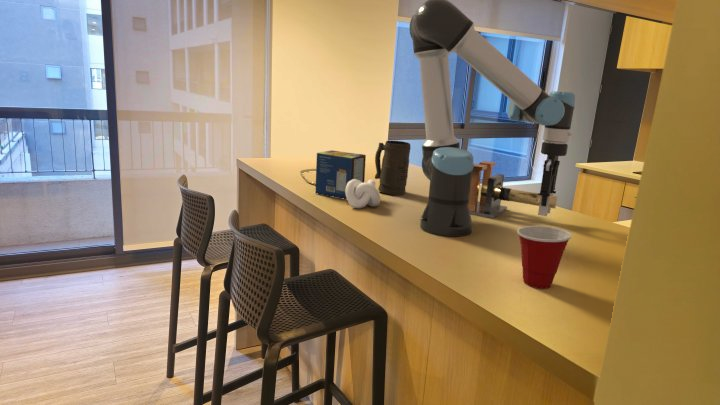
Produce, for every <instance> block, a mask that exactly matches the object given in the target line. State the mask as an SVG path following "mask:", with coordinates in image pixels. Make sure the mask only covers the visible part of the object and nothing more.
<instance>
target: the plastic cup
mask: <svg viewBox="0 0 720 405" xmlns="http://www.w3.org/2000/svg"><path fill="white" fill-rule="evenodd" d="M516 233H517V234H518V237H519V241H520V248H521V249H520V250H521V255H520V256H521V266H522V282H523V283H524V284H525V285H527V286H528V287H529V286H530V287H532V288H536V289H541V290H543V289H549V288H551V286H552V285H553V282H554V279H555V276H556V274H557V272H558V269H559V266H560V263H561V260H562V257H563V254H564V252H565V250H566V247H567V245H568V242H569V240H570V239H572V238H571V237H572V233H571V232H569V231H568V230H565V229H562V228H559V227H553V226H546V225H545V226H544V225H528V226H523V227H520V228H517V230H516Z"/></svg>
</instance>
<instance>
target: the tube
mask: <svg viewBox="0 0 720 405" xmlns="http://www.w3.org/2000/svg"><path fill="white" fill-rule="evenodd" d="M486 193H487V185H483V186H482V185H481V188H480V196H483V197H486ZM539 193H540V192H532V191H531V192H530V191H525V190H518V189H513V188H509V187H504V186H503V187H502V188H501V187H495V194H494V198H495V199H500V200H501V201H505V202H514V203H520V204H526V205H531V206H538V207H539V205H540V198H541V195H538V194H539ZM557 203H558V196H557V195H553V196H552V195H550V201H549V208H551V209H553V210H554V209H556V207H557Z"/></svg>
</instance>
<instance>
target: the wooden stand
mask: <svg viewBox="0 0 720 405" xmlns="http://www.w3.org/2000/svg"><path fill="white" fill-rule="evenodd" d="M495 166H496V161H488V160H482V161H481V162H480V161H479V163H474V167H473V171H472V179H471V188H470V196H469V211H470V215H474V216H478V217H484V218H489V219H493V218H494V219H495V218H497V217H499V214H500V215H501V214H503V213H504V212H505V211H507V210H508V206H505V205H501V202H502V200H500V199H495V198H494V194H495V187H501V188H502V187H503V188H504V180H505V174H502V173H501V174H500V173H497V174H496V175H493V167H495ZM482 171H483V172H482ZM481 175H482V179H481ZM492 175H493V176H492ZM481 180H482V181H481ZM480 185H481V187H482V186H483V185H487V193H486V197H483V196H481V195H480V198H479V193H480ZM506 209H507V210H506ZM503 211H504V212H503Z"/></svg>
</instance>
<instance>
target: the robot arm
mask: <svg viewBox="0 0 720 405" xmlns="http://www.w3.org/2000/svg"><path fill="white" fill-rule="evenodd" d="M409 35H410V37H411V40H412V48H413V55H414V56H415V57H416V58H417V59H418V61H419V70H420V80H421V81H420V82H421V94H422V103H423V104H422V105H423V115H424V128H425V129H424V130H425V140H424V141H423V142H422V144H421V150H422V158H421V159H422V160H421V169H422V172H423V174H424V176H425V177H426V179H428V180H429V189H428V190H429V192H428V199H427V200H428V201H427V204H426V206H425V208H424V211H423V213H422V215H421V218H420V224H419V225H420V226H419V227H420V228H421V230H423V231H426V232H427V233H430V234H434V235H439V236H446V237H464V236H468V235H470V234H471V233H472V231H473V221H472V216H471V214H470V211H469V196H470V188H471V179H472V171H473V167H474V164H475V163H474V156H473V153H472V152H470V151H469V150H467V149H462V148H460V147H461V146H460V140H459V139H458V138H457V137H456V136H455V134H454V133H455V132H454V120H453V119H454V118H453V105H452V89H451V88H452V87H451V78H450V77H451V76H450V63H449V60H450V59H449V55H450V54H451V53H455V54H456V55H457V56H459V57H460V58H461V59H462V60H463V61H464V62H466V63H467V64H468V65H469V66H470V67H471V68H473V69H474V70H475V71H477V73H478V74H480V76H482V77H483V78H484V79H485V80H487V81H488V82H489V83H490V84H491V85H492V86H494V87H495V88H496V89H497V90H498V91H499V92H500V93H502V94H503V95H504V96H505V97H506V98H507V99H509V101H508V103H507V109H506V111H507V113H506V114H507V117H508V119H509V120H510V121H516V122H526V123H533V124H538V125H541V126H544V128H543V134H542V140H543V141H542V142H541V150H540V153H541V154H542V155H546V156H547V158H546V160H545V159H544V163H543V165H542V166H543V169H542V177H541V185H540V189H539V190H540V191H539V192H538V193H539V194H538V195H541V198H540V205H539V206H538V213H537V216H540V217H541V216H542V217H548V215H549V214H551V209H552V208H549V201H550V195H552V196H554V195H556V193H557V191H556V184H557V177H558V171H559V167H560V164H561V163H560V162H561V161H560V160H559V157H565V156H567V152H568V147H569V145H568V142H569V139H570V137H571V136H572V135H573V134H572V132H571V128H572V121H573V116H574V115H573V114H574V110H575V108H576V107H575V106H576V105H575V104H576V94H575V93H574V92H572V91H571V92H570V91H553V90H552V91H550V92H549V93H547V92H546V91H545V90H544V89H542V88H541V87H540V86H539V85H538V84H536V83H535V82H534V81H533V80H532V79H531V78H530V77H529V76H528V75H526V73H524V72H523V71H522V70H521V69H520V68H519V67H518V66H516V65H515V64H514V63H513V62H512V61H511V60H510V59H508V57H506V56H505V55H504V54H503V53H502V52H501V51H500V50H499V49H497V48H496V47H495V46H494V45H493V44H492V43H491V42H489V41H488V40H487V38H485V37H484V36H483V35H482V34H480V33H479V32H478V31H477V30H476V29H475V23H474V21H473V20H472V19H470V18H469V17H467V15H466V14H465V13H463V12H462V11H461V10H460V9H459V8H458V7H457V6H456V5H455V4H454V3H452V2H451V1H449V0H426V1H425V2H423V3H422V4H421V5H420V7H419V8H418V9H416V11H415V12H414V13H413V15H412V17H411V18H410V22H409Z"/></svg>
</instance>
